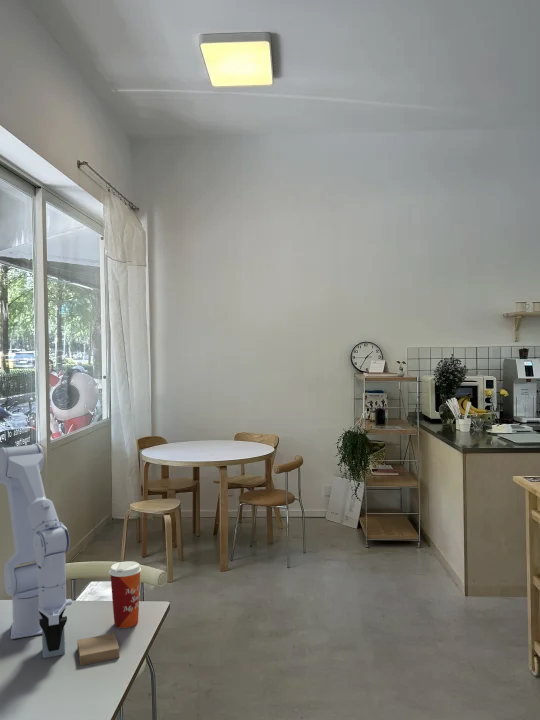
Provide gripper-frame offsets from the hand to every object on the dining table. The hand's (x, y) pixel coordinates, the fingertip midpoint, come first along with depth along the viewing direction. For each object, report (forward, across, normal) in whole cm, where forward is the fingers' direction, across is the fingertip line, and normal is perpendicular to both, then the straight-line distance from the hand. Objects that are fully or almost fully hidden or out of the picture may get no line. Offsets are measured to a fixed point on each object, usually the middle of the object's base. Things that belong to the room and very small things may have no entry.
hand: (53, 645), depth 130 cm
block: (+1, 0, 0) cm, 1 cm away
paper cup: (+2, +8, -17) cm, 19 cm away
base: (+1, -5, -9) cm, 10 cm away
